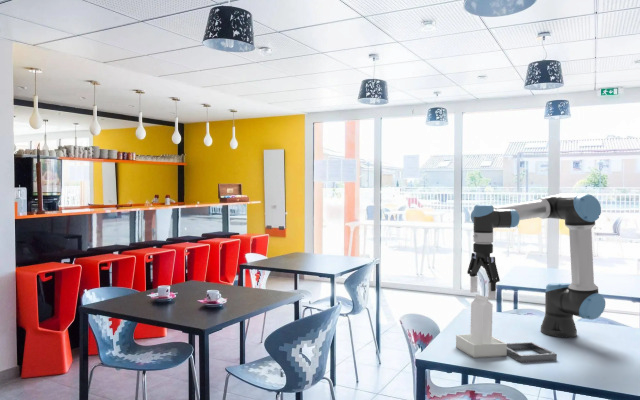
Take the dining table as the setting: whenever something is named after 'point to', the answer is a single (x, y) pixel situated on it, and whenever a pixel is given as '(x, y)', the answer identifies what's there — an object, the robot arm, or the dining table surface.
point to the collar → (543, 356)
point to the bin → (481, 347)
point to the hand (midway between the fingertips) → (482, 295)
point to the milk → (481, 321)
